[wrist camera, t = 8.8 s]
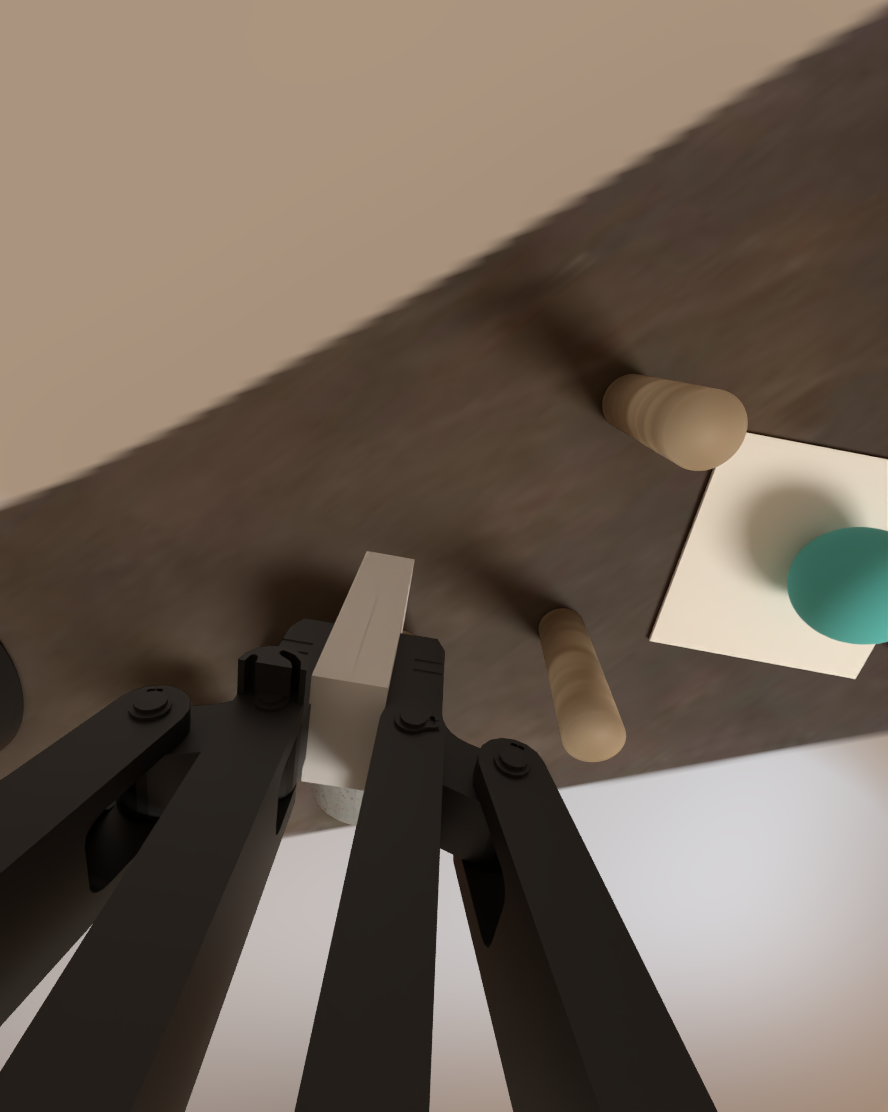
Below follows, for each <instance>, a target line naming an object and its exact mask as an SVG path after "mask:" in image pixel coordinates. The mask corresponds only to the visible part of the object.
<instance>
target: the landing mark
mask: <svg viewBox="0 0 888 1112" xmlns="http://www.w3.org/2000/svg"><path fill="white" fill-rule="evenodd" d="M849 527H870V528H877V529H882V530H886V531H888V459H883V458H878V457H873V456H868V455H862V454H857V453H852V452H847V451H841V450H836V449H831V448H826V447H820V446H815V445H810V444H805V443H799V442H794V441H789V440H784V439H778V438H773V437H768V436H763V435H757V434H752V433H747V432H746V435H745V438H744V441H743V443H742V445H741V446H740V448H739V449H738V451H737V452H736V453H735V454H734V455H733V456H732V457H731V458H730V459H729V460H728V461H726V462H725V463H723V464H721V465H720V466H718V467H715V468H713V471H712V474H711V476H710V479H709V481H708V484H707V487H706V489H705V492H704V495H703V497H702V500H701V503H700V505H699V508H698V510H697V513H696V516H695V518H694V521H693V524H692V526H691V529H690V532H689V534H688V537H687V539H686V542H685V545H684V547H683V550H682V553H681V555H680V558H679V561H678V563H677V566H676V569H675V571H674V574H673V576H672V579H671V582H670V584H669V587H668V590H667V592H666V595H665V598H664V600H663V603H662V605H661V608H660V611H659V613H658V616H657V619H656V621H655V624H654V627H653V629H652V632H651V634H650V637H649V640H650V641H653V642H658V643H664V644H669V645H675V646H680V647H685V648H691V649H696V650H702V651H707V652H712V653H718V654H723V655H729V656H734V657H739V658H745V659H750V660H756V661H761V662H766V663H772V664H777V665H783V666H788V667H793V668H799V669H804V670H810V671H815V672H820V673H826V674H831V675H837V676H842V677H847V678H853V679H856V677H857V675H858V674H859V672H860V670H861V668H862V667H863V665H864V663H865V661H866V660H867V658H868V656H869V654H870V653H871V651H872V649H873V647H874V646H875V644H863V645H860V644H850V643H845V642H841V641H837V640H834V639H831V638H829V637H827V636H824V635H822V634H820V633H819V632H817V631H815V630H814V629H812V628H811V627H810V626H809V625H807V624H806V623H805V622H804V621H803V620H802V619H801V618H800V616H799V615H798V614H797V613H796V611H795V609H794V608H793V606H792V604H791V602H790V599H789V596H788V590H787V577H788V572H789V569H790V566H791V564H792V562H793V560H794V558H795V557H796V556H797V554H798V553H799V551H800V550H801V549H802V548H803V547H804V546H806V545H807V544H808V543H809V542H811V541H812V540H814V539H815V538H817V537H819V536H821V535H823V534H825V533H828V532H831V531H834V530H837V529H842V528H849Z"/></svg>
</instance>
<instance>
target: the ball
mask: <svg viewBox="0 0 888 1112" xmlns="http://www.w3.org/2000/svg"><path fill="white" fill-rule="evenodd" d="M787 590H788V596H789V599H790V602H791V604H792V606H793V608H794V609H795V611H796V613H797V614H798V615H799V616H800V618H801V619H802V620H803V621H804V622H805V623H806V624H807V625H809V626H810V627H811V628H812V629H814V630H815V631H817V632H819V633H820V634H822V635H824V636H827V637H829V638H831V639H834V640H837V641H841V642H845V643H850V644H860V645H863V644H879V643H884V642H888V531H886V530H882V529H877V528H870V527H849V528H842V529H837V530H834V531H831V532H828V533H825V534H823V535H821V536H819V537H817V538H815V539H814V540H812V541H811V542H809V543H808V544H807V545H806V546H804V547H803V548H802V549H801V550H800V551H799V553H798V554H797V556H796V557H795V558H794V560H793V562H792V564H791V566H790V569H789V572H788V577H787Z"/></svg>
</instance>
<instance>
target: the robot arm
mask: <svg viewBox="0 0 888 1112" xmlns="http://www.w3.org/2000/svg"><path fill="white" fill-rule="evenodd" d="M414 560H415V559H409V558H404V557H398V556H392V555H386V554H381V553H375V552H369V551H367V552H366V554H365V557H364V559H363V561H362V563H361V566H360V568H359V570H358V572H357V575H356V577H355V579H354V581H353V584H352V586H351V588H350V590H349V593H348V595H347V597H346V599H345V602H344V604H343V606H342V608H341V611H340V613H339V615H338V617H337V620H336V622H335V623H329V622H323V621H317V620H311V619H305V618H304V619H302V620H300V621H299V622H297V623H296V624H294V625H292V626H291V627H290V628H289V630H288V631H287V633H286V635H285V636H284V638H283V641H281V643H280V645H279V646H266V647H259V648H256V649H253V650H251V651H248V652H246V653H245V654H244V655H243V656H242V657H240V658H239V659H238V687H237V695H236V697H235V699H234V700H233V701H229V702H226V703H220V704H211V705H195V706H191V701H190V699H189V697H188V695H187V694H186V693H185V692H183V691H182V690H180V689H178V688H176V687H170V686H165V685H159V686H147V687H143V688H139V689H136V690H133V691H131V692H129V693H127V694H125V695H123V696H121V697H120V698H118V699H117V700H115V701H114V702H113V703H111V704H110V705H108V706H107V707H105V708H104V709H102V710H101V711H100V712H98V713H97V714H95V715H94V716H92V717H91V718H90V719H88V720H87V721H85V722H84V723H82V724H81V725H79V726H78V727H77V728H75V729H74V730H72V731H71V732H69V733H68V734H67V735H65V736H64V737H62V738H61V739H59V740H58V741H56V742H55V743H54V744H52V745H51V746H49V747H48V748H46V749H45V750H44V751H42V752H41V753H39V754H38V755H36V756H35V757H33V758H32V759H31V760H29V761H28V762H26V763H25V764H23V765H22V766H21V767H19V768H18V769H16V770H15V771H13V772H12V773H10V774H9V775H8V776H6V777H5V778H3V779H2V780H0V1026H1V1025H2V1024H3V1023H4V1022H5V1021H6V1020H7V1018H8V1017H9V1016H10V1015H11V1014H12V1013H13V1012H14V1011H15V1010H16V1008H17V1007H18V1006H19V1005H20V1004H21V1003H22V1002H23V1001H24V999H25V998H26V997H27V996H28V995H29V994H30V993H31V992H32V990H33V989H34V988H35V987H36V986H37V985H38V984H39V983H40V982H41V981H42V980H43V978H44V977H45V976H46V975H47V974H48V973H49V972H50V971H51V970H52V968H53V967H54V966H55V965H56V964H57V963H58V962H59V961H60V960H61V958H62V957H63V956H64V955H65V954H66V953H67V952H68V951H69V950H70V948H71V947H72V946H73V945H74V944H75V943H76V942H77V941H78V940H79V938H80V937H81V936H82V935H83V934H84V933H85V932H86V931H87V929H88V928H89V927H90V926H91V925H92V924H93V925H92V926H91V928H90V930H89V931H88V933H87V934H86V936H85V937H84V939H83V941H82V942H81V944H80V946H79V947H78V949H77V950H76V952H75V953H74V955H73V957H72V958H71V960H70V961H69V963H68V965H67V966H66V968H65V969H64V971H63V973H62V974H61V976H60V977H59V979H58V980H57V982H56V984H55V985H54V987H53V988H52V990H51V992H50V993H49V995H48V997H47V998H46V1000H45V1001H44V1003H43V1004H42V1006H41V1008H40V1009H39V1011H38V1012H37V1014H36V1016H35V1017H34V1019H33V1020H32V1022H31V1024H30V1025H29V1027H28V1028H27V1030H26V1031H25V1033H24V1035H23V1036H22V1038H21V1039H20V1041H19V1043H18V1044H17V1046H16V1047H15V1049H14V1051H13V1052H12V1054H11V1055H10V1057H9V1059H8V1060H7V1062H6V1063H5V1065H4V1067H3V1068H2V1070H1V1071H0V1112H185V1110H186V1107H187V1104H188V1101H189V1098H190V1095H191V1092H192V1090H193V1087H194V1084H195V1082H196V1079H197V1076H198V1073H199V1070H200V1067H201V1065H202V1062H203V1059H204V1056H205V1053H206V1051H207V1047H208V1045H209V1042H210V1039H211V1036H212V1034H213V1031H214V1028H215V1025H216V1022H217V1019H218V1017H219V1014H220V1011H221V1008H222V1005H223V1003H224V1000H225V997H226V994H227V991H228V988H229V986H230V983H231V980H232V977H233V975H234V972H235V969H236V966H237V963H238V960H239V957H240V955H241V952H242V949H243V946H244V944H245V941H246V938H247V935H248V932H249V929H250V927H251V924H252V921H253V918H254V915H255V913H256V910H257V907H258V904H259V901H260V898H261V896H262V893H263V890H264V887H265V884H266V881H267V878H268V876H269V873H270V870H271V867H272V865H273V862H274V859H275V856H276V853H277V851H278V848H279V845H280V842H281V839H282V836H283V834H284V831H285V828H286V825H287V822H288V820H289V817H290V814H291V811H292V808H293V805H294V803H295V794H296V784H297V781H298V778H299V775H300V773H301V770H302V767H303V770H302V780H301V781H304V782H310V783H317V784H323V785H330V786H336V787H343V788H349V789H356V790H362V791H364V793H363V798H362V802H361V807H360V812H359V816H358V821H357V825H356V830H355V835H354V839H353V844H352V849H351V853H350V858H349V862H348V867H347V872H346V877H345V881H344V885H343V890H342V895H341V899H340V904H339V909H338V913H337V918H336V922H335V927H334V932H333V937H332V941H331V946H330V950H329V955H328V959H327V964H326V969H325V973H324V978H323V983H322V987H321V992H320V997H319V1001H318V1006H317V1011H316V1015H315V1019H314V1024H313V1029H312V1033H311V1038H310V1043H309V1047H308V1052H307V1056H306V1061H305V1066H304V1070H303V1075H302V1080H301V1084H300V1089H299V1093H298V1098H297V1103H296V1108H295V1112H429V1102H430V1078H431V1077H430V1076H431V1054H432V1029H433V1028H432V1027H433V1004H434V981H435V980H434V979H435V956H436V955H435V954H436V932H437V907H438V883H439V858H440V857H439V856H440V848H441V849H443V850H445V851H447V852H449V853H451V854H453V861H454V866H455V870H456V874H457V879H458V882H459V887H460V891H461V895H462V899H463V903H464V908H465V912H466V916H467V920H468V925H469V928H470V933H471V937H472V941H473V945H474V949H475V954H476V958H477V962H478V966H479V970H480V974H481V979H482V983H483V987H484V991H485V995H486V1000H487V1004H488V1008H489V1012H490V1016H491V1020H492V1024H493V1029H494V1033H495V1037H496V1041H497V1046H498V1050H499V1054H500V1058H501V1062H502V1066H503V1071H504V1074H505V1079H506V1083H507V1087H508V1092H509V1096H510V1100H511V1104H512V1108H513V1112H717V1110H716V1108H715V1106H714V1103H713V1101H712V1099H711V1098H710V1096H709V1093H708V1091H707V1090H706V1087H705V1085H704V1083H703V1081H702V1079H701V1077H700V1075H699V1073H698V1071H697V1069H696V1067H695V1065H694V1063H693V1061H692V1059H691V1057H690V1055H689V1053H688V1051H687V1049H686V1047H685V1045H684V1043H683V1041H682V1039H681V1037H680V1035H679V1033H678V1031H677V1029H676V1027H675V1025H674V1023H673V1021H672V1019H671V1017H670V1015H669V1013H668V1011H667V1009H666V1007H665V1005H664V1003H663V1001H662V999H661V997H660V995H659V993H658V991H657V989H656V987H655V985H654V983H653V981H652V979H651V977H650V975H649V973H648V971H647V969H646V967H645V965H644V963H643V961H642V959H641V957H640V955H639V952H638V950H637V949H636V946H635V944H634V943H633V940H632V938H631V936H630V935H629V932H628V930H627V928H626V926H625V924H624V922H623V920H622V918H621V916H620V914H619V912H618V910H617V909H616V907H615V904H614V902H613V900H612V898H611V896H610V894H609V892H608V890H607V888H606V886H605V884H604V882H603V880H602V878H601V876H600V874H599V872H598V870H597V868H596V866H595V864H594V862H593V860H592V858H591V856H590V854H589V852H588V850H587V848H586V846H585V844H584V842H583V840H582V838H581V836H580V834H579V832H578V830H577V828H576V826H575V824H574V822H573V820H572V818H571V816H570V814H569V811H568V809H567V808H566V805H565V804H564V802H563V799H562V798H561V796H560V793H559V791H558V789H557V787H556V785H555V783H554V781H553V779H552V777H551V775H550V773H549V771H548V769H547V767H546V765H545V763H544V761H543V760H542V759H541V757H540V756H539V755H538V753H537V752H536V751H534V750H533V749H532V748H530V747H529V746H527V745H526V744H523V743H521V742H519V741H516V740H513V739H505V738H499V739H493V740H490V741H488V742H487V743H485V744H484V745H482V747H481V749H480V748H478V747H476V746H473V745H471V744H468V743H466V742H464V741H463V740H461V739H459V738H458V737H456V736H455V735H454V734H452V733H451V732H450V730H449V729H448V728H447V727H446V725H445V723H444V721H443V717H442V702H443V680H444V676H443V675H444V659H445V651H444V649H443V647H442V646H441V644H440V642H439V641H438V639H433V638H427V637H421V636H415V635H409V634H403V633H402V631H403V625H404V619H405V613H406V607H407V601H408V596H409V590H410V584H411V578H412V572H413V566H414ZM23 707H24V706H23V693H22V688H21V684H20V681H19V678H18V675H17V672H16V670H15V668H14V666H13V663H12V662H11V660H10V658H9V656H8V654H7V653H6V651H5V650H4V648H3V647H2V645H1V644H0V751H1V750H2V749H4V748H5V747H6V746H7V745H8V744H9V743H10V742H11V741H12V739H13V738H14V737H15V735H16V733H17V732H18V729H19V727H20V724H21V721H22V716H23Z"/></svg>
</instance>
